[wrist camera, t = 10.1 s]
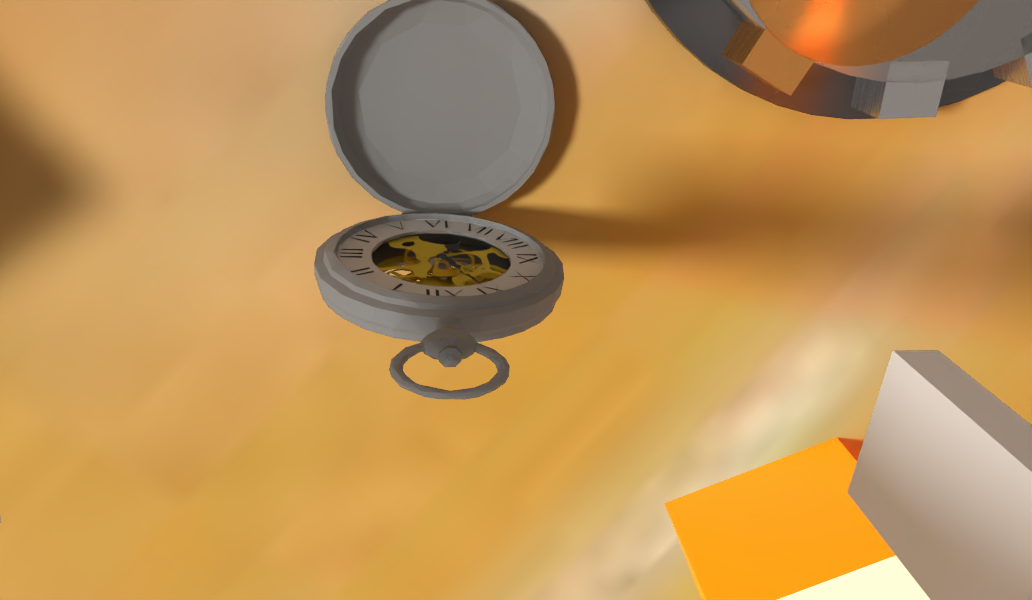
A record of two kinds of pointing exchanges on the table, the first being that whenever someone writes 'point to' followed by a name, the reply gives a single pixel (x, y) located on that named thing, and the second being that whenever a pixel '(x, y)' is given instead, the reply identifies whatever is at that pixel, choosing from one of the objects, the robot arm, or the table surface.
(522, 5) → the table surface
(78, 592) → the table surface
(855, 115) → the base plate
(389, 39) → the pocket watch
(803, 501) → the orange juice
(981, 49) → the sprocket
